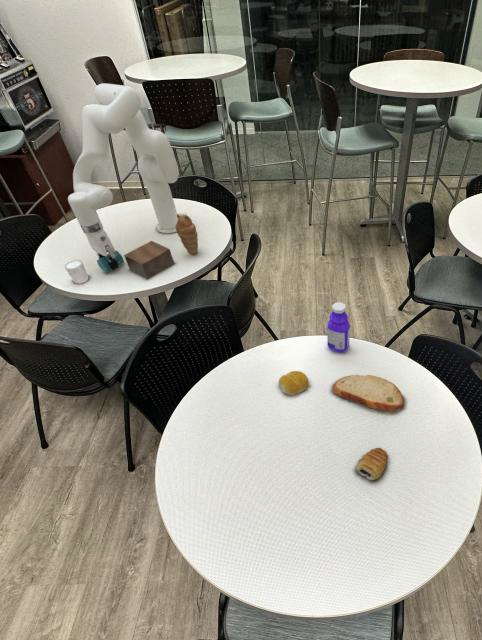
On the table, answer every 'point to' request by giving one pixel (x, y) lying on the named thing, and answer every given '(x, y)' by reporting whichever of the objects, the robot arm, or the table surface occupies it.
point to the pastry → (372, 464)
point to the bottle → (338, 329)
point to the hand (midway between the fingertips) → (110, 266)
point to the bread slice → (370, 392)
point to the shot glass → (77, 271)
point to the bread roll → (293, 382)
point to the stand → (149, 259)
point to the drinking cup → (104, 262)
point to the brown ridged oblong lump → (187, 233)
